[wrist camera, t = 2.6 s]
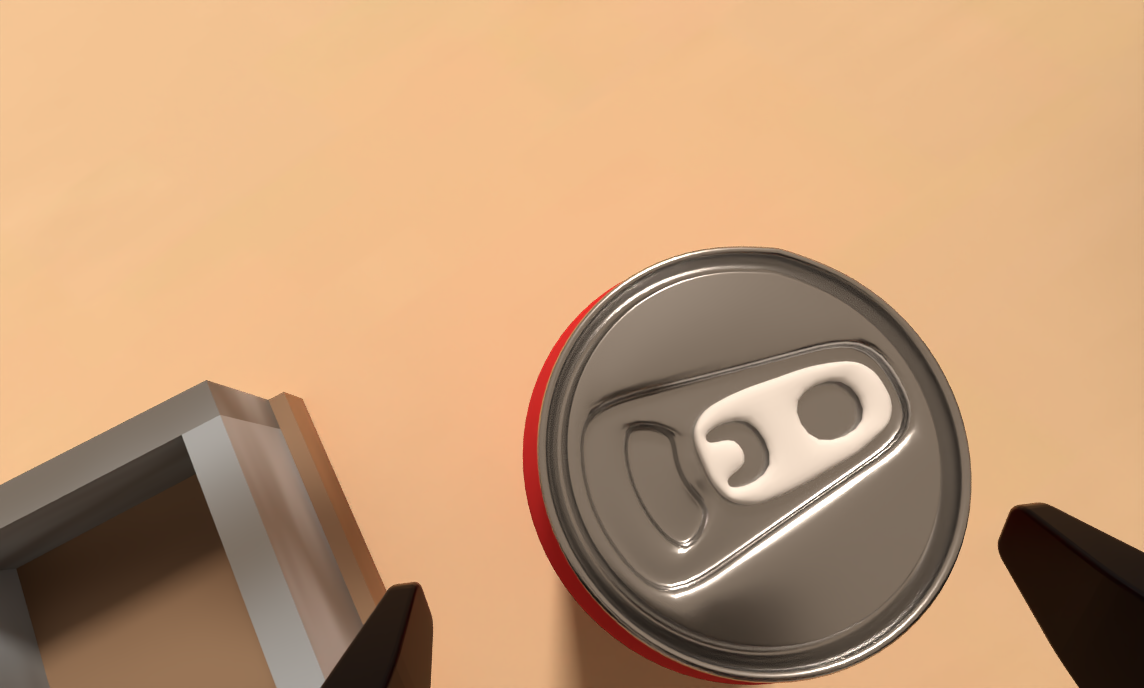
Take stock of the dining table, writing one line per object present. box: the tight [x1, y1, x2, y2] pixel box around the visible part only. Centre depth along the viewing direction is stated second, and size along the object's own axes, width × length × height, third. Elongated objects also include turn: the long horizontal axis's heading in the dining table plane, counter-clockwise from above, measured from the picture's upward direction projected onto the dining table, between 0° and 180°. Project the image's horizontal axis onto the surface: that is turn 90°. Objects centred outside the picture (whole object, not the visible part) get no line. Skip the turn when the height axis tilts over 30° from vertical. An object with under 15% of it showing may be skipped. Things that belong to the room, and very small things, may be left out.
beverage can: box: [523, 247, 971, 685], centre depth 12 cm, size 5×5×12 cm
